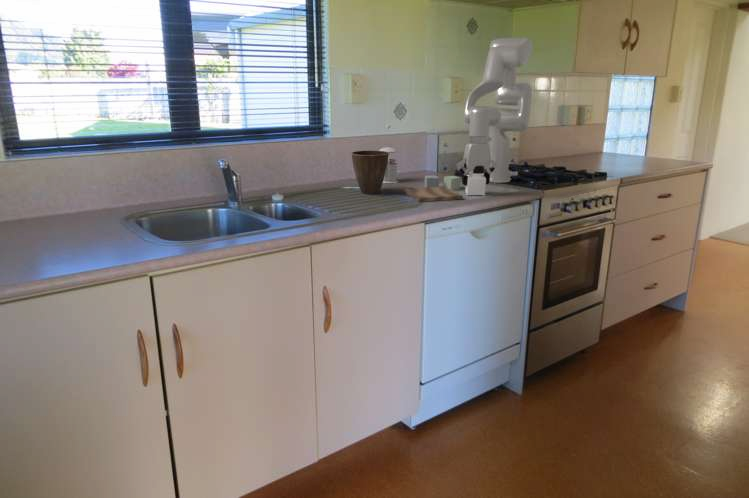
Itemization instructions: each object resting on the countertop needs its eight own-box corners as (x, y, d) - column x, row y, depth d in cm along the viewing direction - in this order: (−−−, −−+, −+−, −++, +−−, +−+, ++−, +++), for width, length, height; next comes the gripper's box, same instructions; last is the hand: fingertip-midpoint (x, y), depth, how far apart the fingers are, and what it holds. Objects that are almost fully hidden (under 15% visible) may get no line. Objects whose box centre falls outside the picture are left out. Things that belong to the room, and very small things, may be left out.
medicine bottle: (482, 192, 214) (484, 162, 210) (485, 196, 207) (487, 165, 203) (465, 192, 214) (466, 162, 210) (466, 195, 207) (468, 165, 204)
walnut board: (444, 190, 217) (444, 186, 217) (462, 199, 201) (463, 195, 200) (403, 192, 213) (403, 188, 213) (418, 202, 196) (418, 198, 196)
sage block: (452, 187, 224) (453, 175, 222) (460, 189, 219) (460, 177, 218) (443, 188, 221) (443, 176, 220) (450, 190, 217) (451, 178, 216)
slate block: (436, 187, 224) (436, 175, 222) (438, 189, 219) (438, 177, 217) (424, 187, 223) (424, 175, 222) (426, 189, 219) (427, 178, 217)
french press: (399, 179, 239) (400, 123, 231) (397, 184, 228) (398, 126, 220) (377, 179, 240) (377, 123, 232) (375, 184, 229) (375, 125, 221)
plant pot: (344, 192, 213) (343, 152, 208) (370, 187, 223) (370, 149, 218) (370, 197, 203) (369, 156, 198) (396, 192, 213) (396, 152, 208)
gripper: (494, 139, 209) (490, 181, 215) (453, 140, 205) (451, 183, 210) (503, 141, 203) (499, 185, 208) (461, 142, 198) (459, 187, 203)
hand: (475, 184), depth 209 cm, fingers closed on medicine bottle, 8 cm apart
